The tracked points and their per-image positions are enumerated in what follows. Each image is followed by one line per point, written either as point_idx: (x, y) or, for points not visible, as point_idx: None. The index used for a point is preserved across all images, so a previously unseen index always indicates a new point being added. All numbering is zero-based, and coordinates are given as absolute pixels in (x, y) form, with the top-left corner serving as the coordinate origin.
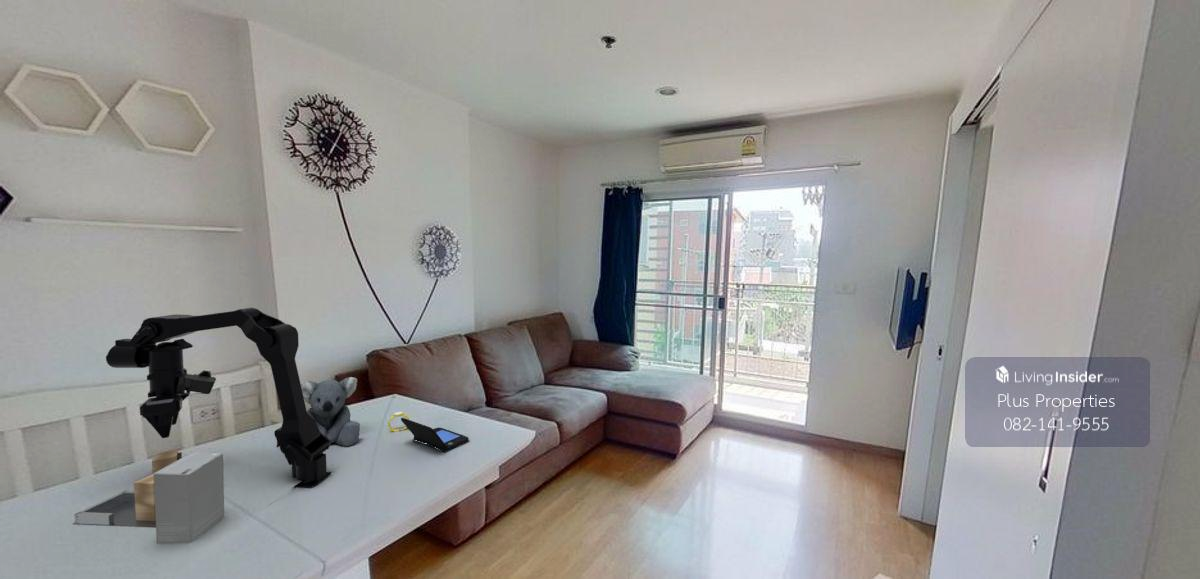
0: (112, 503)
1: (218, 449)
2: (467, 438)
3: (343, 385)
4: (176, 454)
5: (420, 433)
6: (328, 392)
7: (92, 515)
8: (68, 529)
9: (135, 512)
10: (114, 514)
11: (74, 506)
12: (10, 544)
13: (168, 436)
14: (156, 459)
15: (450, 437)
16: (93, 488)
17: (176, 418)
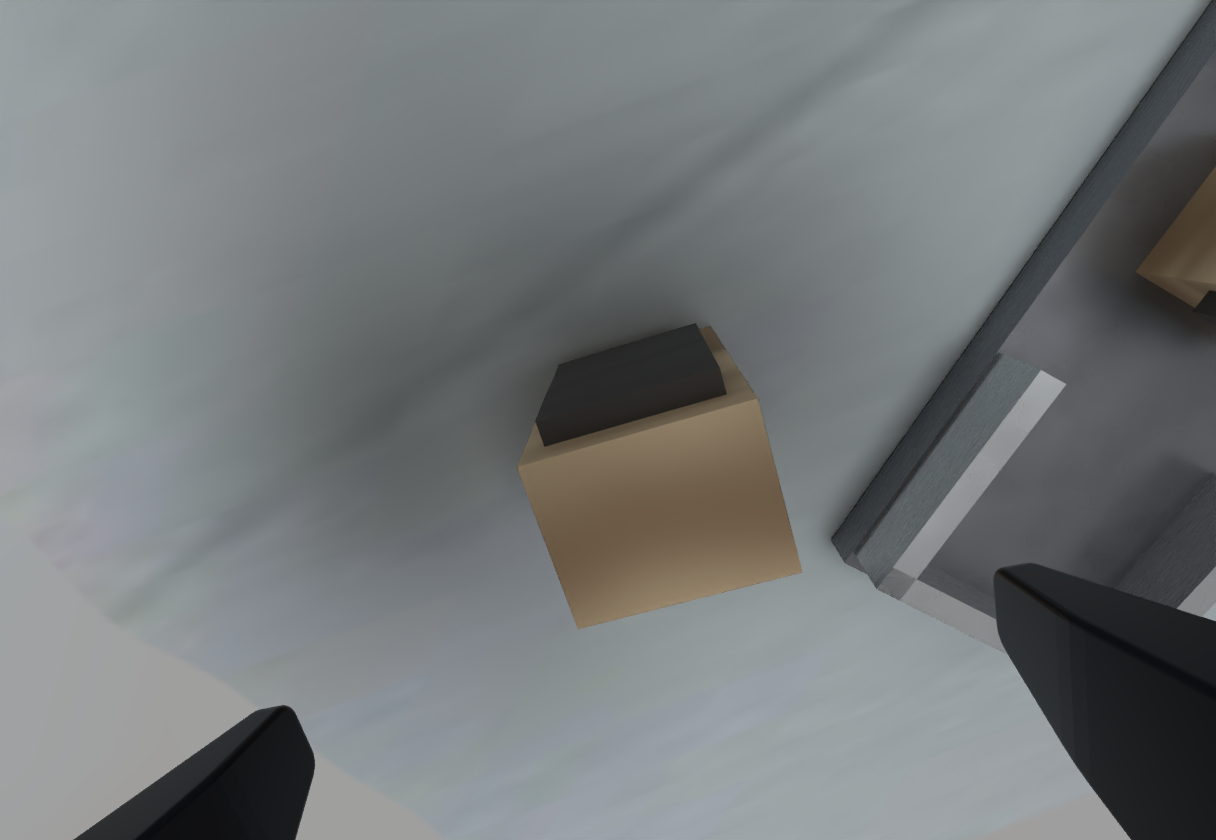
0: (961, 588)
1: (6, 306)
2: None
3: None
4: (701, 417)
5: None
6: None
7: (1206, 608)
8: (1002, 673)
9: (1132, 411)
10: (1079, 520)
11: (702, 766)
12: (1018, 819)
13: (1040, 568)
14: (759, 553)
15: None
16: (487, 782)
17: (222, 782)
